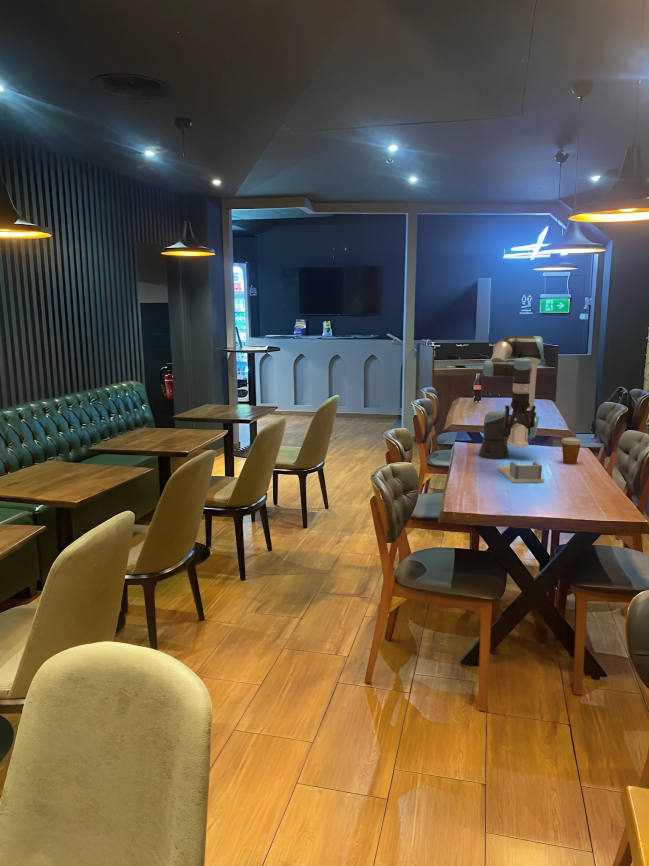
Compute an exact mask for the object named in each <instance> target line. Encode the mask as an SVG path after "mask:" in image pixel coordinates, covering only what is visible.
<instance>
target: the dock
mask: <svg viewBox="0 0 649 866" xmlns="http://www.w3.org/2000/svg"><path fill="white" fill-rule="evenodd" d="M509 462H510V463H509V466H508V465H506V466H505V465H502V466H501V465H498V466H497V470H498V471H499V472H500V473H501V474H502V475H503V474H504V475H503V476H505V477H506V478H507V479H508V480H509V481H510V482H511V481H512V482H511V483H544V481H545V479H544V478H543V477H542V469H543V468H542V467H543V465H541V464H540V463H538V462H537V461H535V460H534V461H533V460H532V464H530V465H528V464H526V465H523V464H521V465H518V464H517V463H516V462H515V461H509Z"/></svg>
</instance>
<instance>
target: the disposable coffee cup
mask: <svg viewBox="0 0 649 866" xmlns="http://www.w3.org/2000/svg"><path fill="white" fill-rule="evenodd" d="M560 442H561V447H562V450H561V451H562V462H563V464H567V463H568V464H567V465H575V464H577V463H578V458H579V454H580V450H581V444H582V443H583V442H582V440H581V438H577V437H569V436H568V437H562V439H561V440H560Z"/></svg>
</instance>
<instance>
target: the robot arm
mask: <svg viewBox="0 0 649 866" xmlns="http://www.w3.org/2000/svg"><path fill="white" fill-rule="evenodd" d="M492 352H493V353H492V356H491V358H490V359H488V360H485V361H484V362H483V366H482V374H483V376H485V377H499V378H500V377H504V378H507V377H508V378H513V381H512V394H511V403H510V404H508V405H507V404H505V405H504V409H505V410H504V411H503V410H497V411H496V410H495V411H490V412H487V413H485V414H484V420H483V437H482V442H481V444H480V445H481V446H480V448H479V450H478V455H479V457H482V456H483V457H482V458H485V457H486V458H487V459H492V458H494V459H495V460H501V458H503V459H507V458H506V457H508V456H509V457H510V450H509V447H508V444H507V438H508V439H509V442H512V432H513V429H512V427H513V425H514V424H521V425H524V426H525V428H526V434H525V442H527V443H528V439H533V438H535V437H536V434H537V429H538V426H539V420H540V417H539V416H538V415H537V411H536V408H537V407H536V405H535V399H536V398H535V397H536V396H535V395H536V382H537V371H538V370H537V369H538V365H540V364H541V360H543V359H544V357H545V356H544V340H543V338H542V336H538V335H536V336H535V335H510V336H506V337H502V338H501V339H499V340H497V341H496V342H495V344H494V345H493V348H492ZM508 359H514V360H508ZM511 408H512V412H511V414H510V411H511ZM509 457H508V458H509ZM486 458H485V459H486Z"/></svg>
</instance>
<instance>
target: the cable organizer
mask: <svg viewBox="0 0 649 866" xmlns="http://www.w3.org/2000/svg"><path fill="white" fill-rule="evenodd" d="M512 429H513V432H512V442H509V438H508V439H507V440H506V443H507V445H510V446H511V447H512V446H513V447H516V448H518V449H519V448H521V449H522V448H529V446H530V445H529V442H528V441H527V442H525V434H526V428H525V426H524V425H521V424H514V425H513V427H512Z"/></svg>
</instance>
